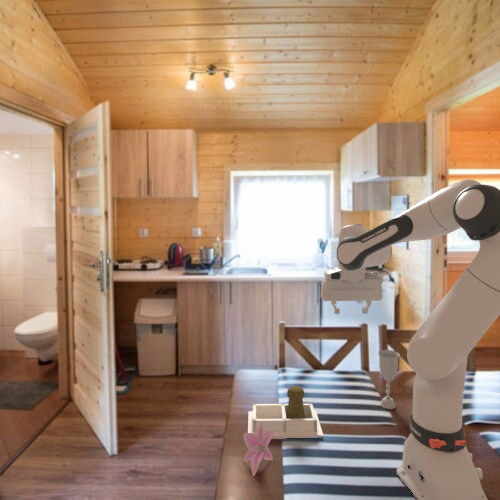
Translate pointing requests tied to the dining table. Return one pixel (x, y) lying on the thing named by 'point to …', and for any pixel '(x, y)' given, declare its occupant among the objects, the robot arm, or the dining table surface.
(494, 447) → the dining table surface
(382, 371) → the chalice
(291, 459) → the dining table surface
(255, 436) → the lily
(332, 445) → the dining table surface
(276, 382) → the dining table surface
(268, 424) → the cream divided tray
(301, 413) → the cork
